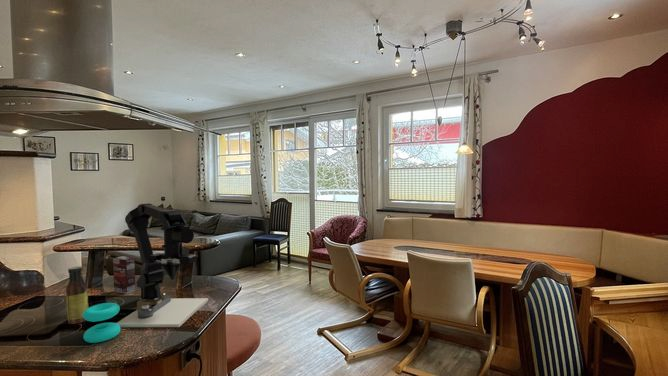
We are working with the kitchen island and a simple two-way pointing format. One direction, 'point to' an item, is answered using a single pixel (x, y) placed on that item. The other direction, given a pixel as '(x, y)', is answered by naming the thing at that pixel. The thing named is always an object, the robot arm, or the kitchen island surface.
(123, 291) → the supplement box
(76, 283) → the sauce bottle
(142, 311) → the pivot link
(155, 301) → the keeper
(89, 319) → the donuts
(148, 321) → the base board
